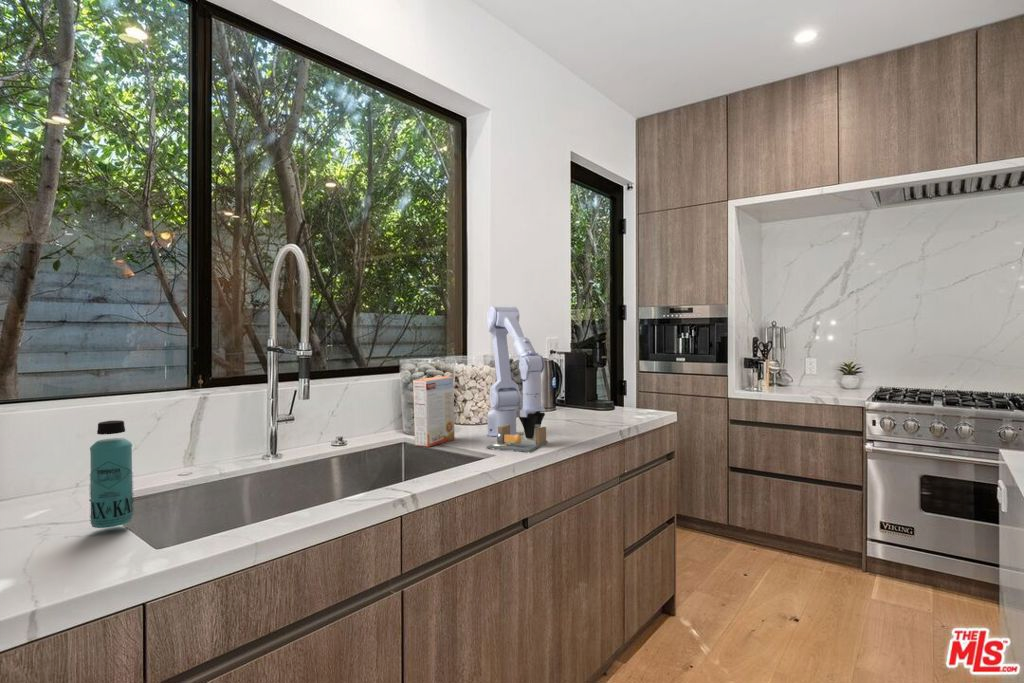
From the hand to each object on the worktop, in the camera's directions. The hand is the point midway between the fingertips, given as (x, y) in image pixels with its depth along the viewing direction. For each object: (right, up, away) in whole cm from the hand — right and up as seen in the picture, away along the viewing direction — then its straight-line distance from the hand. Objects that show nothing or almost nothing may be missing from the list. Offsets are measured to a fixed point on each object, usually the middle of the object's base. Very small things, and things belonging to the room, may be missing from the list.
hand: (532, 436), depth 174 cm
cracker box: (-31, -3, +5) cm, 32 cm away
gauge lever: (-6, -1, -6) cm, 9 cm away
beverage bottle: (-79, -5, -73) cm, 108 cm away
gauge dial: (-10, -3, -3) cm, 11 cm away
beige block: (0, -1, 0) cm, 1 cm away
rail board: (-5, -3, -2) cm, 6 cm away
